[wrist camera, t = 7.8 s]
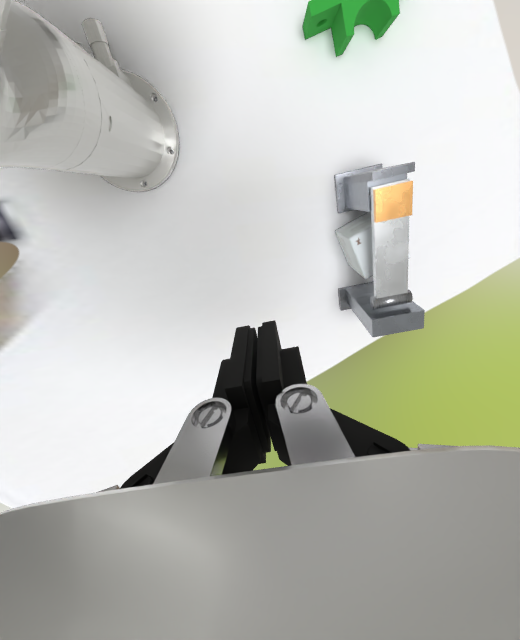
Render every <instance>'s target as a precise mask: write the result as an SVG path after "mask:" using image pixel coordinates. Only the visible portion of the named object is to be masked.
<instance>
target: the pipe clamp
mask: <svg viewBox="0 0 520 640" xmlns="http://www.w3.org/2000/svg"><path fill="white" fill-rule="evenodd" d="M399 13H400V11H399V0H311V1H309V2H308V6H307V10H306V14H305V19H304V23H303V32H304V36H305V39H308V38H310V37H312V36H314V35H316V34H318V33H321V32H323V31H325V30H327V29H329V28H331V30H332V36H333V42H334V47H335V53H336V57H337V56H339V55H342V54H343V52H344V51H345V49H346V47H347V45H348V44H349V42H350V40H351V38H352V37H353V35H354V26H356V25H360V24H363V25H367V26H368V27H370V28H371V30H372V31H373V33H374V36H375V39H378V38H380V37H382V36H383V35H384V33H385V32H386V31H387V29H388V28H389V27H390V25H391V24H392V23H393V21H394V20H395V19H396V17H397V16H398V15H399Z"/></svg>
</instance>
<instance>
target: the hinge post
mask: <svg viewBox="0 0 520 640" xmlns="http://www.w3.org/2000/svg"><path fill="white" fill-rule="evenodd" d="M338 293H339V303H340V310H346V309H352V310H353V312H354V313H355V314H356V316H357V317H358V318H359V320H360V321H361V322H362V324H363V325H364V326H365V328H366V329H367V330H368V332H369V333H370V334H371V336H372V337H377V336H383V335H388V334H394V333H399V332H405V331H410V330H416V329H422V328H424V310H423V309H422V308H421V307H419V306H418V305H417V304H415V303H414V302H413V301H412V302H411V303H406V304H400V305H395V306H390V307H384V308H379V309H374V310H373V309H372V308H371V305H370V297H373V296H374V282H369V283H364V284H359V285H354V286H349V287H344V288H339V289H338Z"/></svg>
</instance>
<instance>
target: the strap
mask: <svg viewBox="0 0 520 640" xmlns="http://www.w3.org/2000/svg"><path fill="white" fill-rule="evenodd" d="M412 195H413V181H410V179H404V180H400V181H395V182H391V183H387V184H383V185H378V186H374V187H370V196H371V223H372V251H373V279H374V296H373V297H370V305H371V308H372V309H373V310H374V309H379V308H384V307H390V306H395V305H400V304H406V303H411V302H412V293H411V291H410V290H408V244H409V215H412Z"/></svg>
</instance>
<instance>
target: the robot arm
mask: <svg viewBox="0 0 520 640" xmlns="http://www.w3.org/2000/svg"><path fill="white" fill-rule="evenodd" d="M82 27H83V29H84V32H85V35H86V38H87V40H88V43H89V46H90V48H91V49H92V51H93V54H94V57H95V58H94V57H93V56H91V55H90V54H89V53H87V52H86V51H85V50H84V49H83V46H82V45H81V44H79V43H75V42H74V41H72V40H71V39H70V38H69V37H67V36H66V35H65V34H63V33H62V32H61V31H60V30H59V29H57V28H56V27H55V26H54V25H52V24H51V23H50V22H48V21H47V20H46V19H44V18H43V17H42V16H40V15H39V14H38V13H36V12H35V11H33V10H31V9H30V8H28V7H27V6H25V5H23V4H21V3H19V2H17V1H15V0H0V168H5V167H19V168H34V169H45V170H55V171H64V172H74V173H84V174H94V175H99V176H101V177H102V178H103V179H104V180H106V181H107V182H108V183H110V184H112V185H114V186H116V187H118V188H121V189H124V190H127V191H135V192H141V191H147V190H151V189H154V188H156V187H158V186H159V185H161V184H162V183H163V182H165V181H166V179H167V178H168V177H169V176H170V175H171V173H172V171H173V169H174V167H175V165H176V162H177V158H178V152H179V134H178V130H177V125H176V122H175V119H174V116H173V114H172V111H171V110H170V108H169V106H168V104H167V102H166V101H165V100H164V98H163V97H162V96H161V94H160V93H159V92H158V91H157V90H156V89H155V88H154V87H153V86H152V85H151V84H149V83H148V82H147V81H146V80H144V79H143V78H141V77H140V76H138V75H136V74H134V73H132V72H128V71H124V70H120V68H119V65H118V62H117V61H116V60H115V59H112V56H111V53H110V50H109V44H108V41H107V38H106V35H105V32H104V29H103V26H102V24H101V22H100V21H99V20H97V19H92V18H89V19H85V20H84V21H83V22H82ZM156 97H157V101H156V102H155V101H154V99H155V98H156ZM171 150H173V151H174V153H173V154H171V152H170V151H171ZM145 182H146V183H147V186H145ZM270 436H271V438H270ZM271 439H272V443H273V446H274V450H275V451H277V453H278V456H279V459H280V460H281V461H282V462H284V463H285V464H286V465H288V466H284V467H277V468H269V469H262V470H254V471H253V469H254V468H255V467H256V466H257V465H258V464H261V463H266V452H270V451H271ZM0 640H520V448H516V447H502V446H445V445H429V444H418V448H408V447H407V446H406V445H405V444H403V443H402V442H400V441H398V440H397V439H395V438H392V437H390V436H388V435H386V434H384V433H382V432H380V431H378V430H375V429H373V428H371V427H369V426H367V425H365V424H363V423H360V422H358V421H356V420H354V419H352V418H350V417H348V416H345V415H343V414H341V413H339V412H337V411H335V410H332V409H330V408H329V406H328V405H327V403H326V401H325V399H324V397H323V395H322V393H321V392H320V391H319V390H318V389H317V388H315V387H314V386H311V385H308V384H307V383H306V378H305V374H304V370H303V365H302V361H301V356H300V352H299V347H292V348H287V349H281V345H280V340H279V336H278V331H277V326H276V322H275V321H269V322H264V323H262V326H261V327H258V338H257V334H256V330H255V328H250V326H243V327H238V328H236V332H235V337H234V342H233V347H232V352H231V357H230V359H226V360H222V362H221V366H220V370H219V374H218V378H217V382H216V386H215V390H214V394H213V398H211V399H208V400H205V401H203V402H201V403H199V404H198V405H196V406H195V407H194V408H193V409H192V410H191V412H190V413H189V415H188V417H187V419H186V420H185V422H184V424H183V426H182V428H181V430H180V432H179V434H178V436H177V438H176V440H175V442H174V443H173V444H171V445H170V446H169V447H168V448H166V449H165V450H164V451H162V452H161V453H160V454H159V455H157V456H156V457H155V458H154V459H152V460H151V461H150V462H149V463H147V464H146V465H145V466H144V467H142V468H141V469H140V470H138V471H137V472H136V473H135V474H133V475H132V476H131V477H130V478H129V479H128V480H127V481H126V482H125V483H124V484H123V485H122V486H121V488H119V486H118V485H116V486H113V487H110V488H107V489H105V490H102V491H99V492H96V493H90V494H83V495H77V496H71V497H65V498H59V499H54V500H49V501H43V502H38V503H33V504H29V505H25V506H21V507H17V508H13V509H10V510H7V511H4V512H1V513H0Z"/></svg>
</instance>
